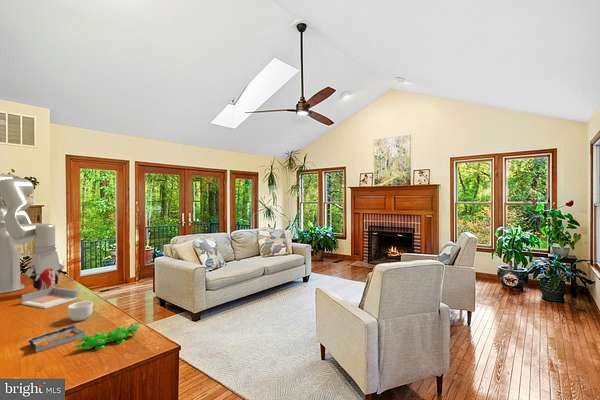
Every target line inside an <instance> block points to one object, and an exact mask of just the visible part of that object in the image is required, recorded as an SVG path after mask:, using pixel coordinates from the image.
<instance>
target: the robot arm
mask: <svg viewBox="0 0 600 400" xmlns="http://www.w3.org/2000/svg"><path fill="white" fill-rule="evenodd" d="M34 191H35V187H34V184H33V182H31V180H29V179H27V178H25V177H24V178H23V177H20V176H17V175H14V174H7V173H6V174H5V173H0V294H5V293H6V294H7V293H12V292H17V291H20V290H23V289H25V284H22V283H21V254H20V251H19V249H17V247H16V245H17V246H18V245H23V244H30V243H33V241H34V245H35V246H34V249H35V251H34V252H35V253H32V257H31V261H30V269H29V270H27V271H26V272H25V276H27V278H28V279H30V280H31V281H32V286H33V287H32V288H33V289H35V290H37V289H39V288H40V280H38V279H39V277H40V274H42V273H43V272H44V271H45V269H49V268H53V269H54V270H55V285H58V283H59V276H60V274H61V273H62V272H63V269H64V268H65V265H63V264H61V263H60V260H59V255H58V251H56V250H57V249H58V248H59V246H58V245H56V225H55V224H53V223H43V222H42V223H41V222H35V223H32V221H31V219H30V217H29V215H28V213H27V212H26V210H27V209H28V208H30V205H31V203H30V201H29V198H28V197H27V196H30V195H32V194H34Z"/></svg>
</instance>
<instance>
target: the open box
mask: <svg viewBox="0 0 600 400" xmlns="http://www.w3.org/2000/svg"><path fill="white" fill-rule="evenodd" d="M20 299H21V305H26V306H29V307H35V308H40V309H48V308H51V307H54V306H58V305H60V304H65V303H67V302H71V301H75V300H78V290H77V289H71V288H65V287H64V288H63V287H58V286H57V287H56V286H55V287H52V288H48V289H44V290H40V291H37V290H36V291H33V292H29V293H25V294H21V298H20Z"/></svg>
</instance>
